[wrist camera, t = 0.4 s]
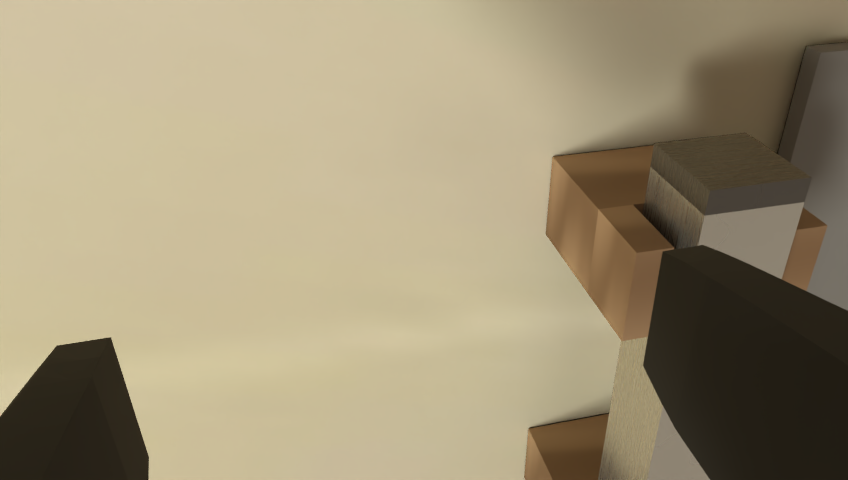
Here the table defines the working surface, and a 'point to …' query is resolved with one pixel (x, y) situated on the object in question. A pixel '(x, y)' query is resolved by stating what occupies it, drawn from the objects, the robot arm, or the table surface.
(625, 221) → the cradle posts
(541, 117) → the table surface
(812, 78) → the gray bar
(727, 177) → the rail
